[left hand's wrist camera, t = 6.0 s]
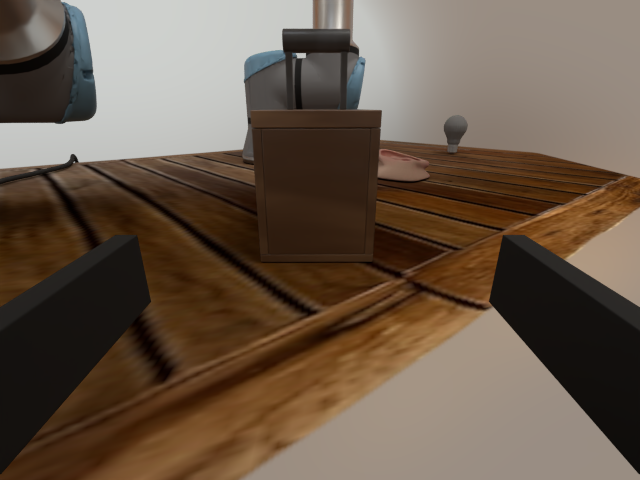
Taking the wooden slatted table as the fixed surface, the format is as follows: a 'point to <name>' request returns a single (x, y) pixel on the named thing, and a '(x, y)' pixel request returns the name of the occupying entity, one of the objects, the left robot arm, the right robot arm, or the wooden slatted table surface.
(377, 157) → the chest
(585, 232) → the wooden slatted table surface
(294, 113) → the lid
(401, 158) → the anatomical model
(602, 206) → the wooden slatted table surface
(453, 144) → the light bulb
